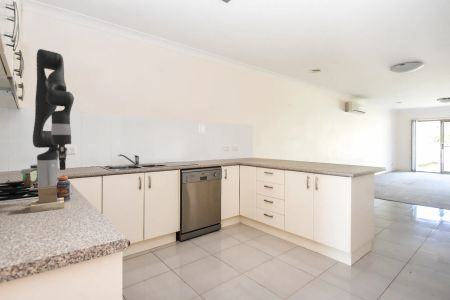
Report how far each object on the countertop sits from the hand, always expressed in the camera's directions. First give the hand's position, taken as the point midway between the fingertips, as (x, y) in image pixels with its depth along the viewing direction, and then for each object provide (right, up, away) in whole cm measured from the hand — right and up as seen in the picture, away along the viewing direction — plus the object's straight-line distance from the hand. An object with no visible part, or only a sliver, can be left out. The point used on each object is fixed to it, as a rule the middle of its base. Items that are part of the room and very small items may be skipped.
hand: (62, 168), depth 112 cm
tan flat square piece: (+1, -15, -11) cm, 19 cm away
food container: (-48, -13, +39) cm, 63 cm away
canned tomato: (-54, -13, +55) cm, 78 cm away
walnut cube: (+1, -13, -11) cm, 17 cm away
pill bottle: (0, -15, +1) cm, 15 cm away
